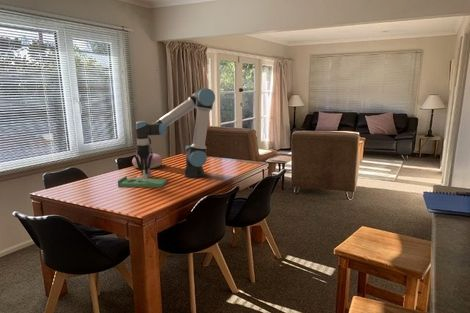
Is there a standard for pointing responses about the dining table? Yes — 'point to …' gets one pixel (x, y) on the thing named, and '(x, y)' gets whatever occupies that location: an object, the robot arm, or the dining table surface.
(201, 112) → the robot arm
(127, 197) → the dining table surface
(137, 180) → the ball
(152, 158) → the figurine
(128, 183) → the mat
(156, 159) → the cushion
